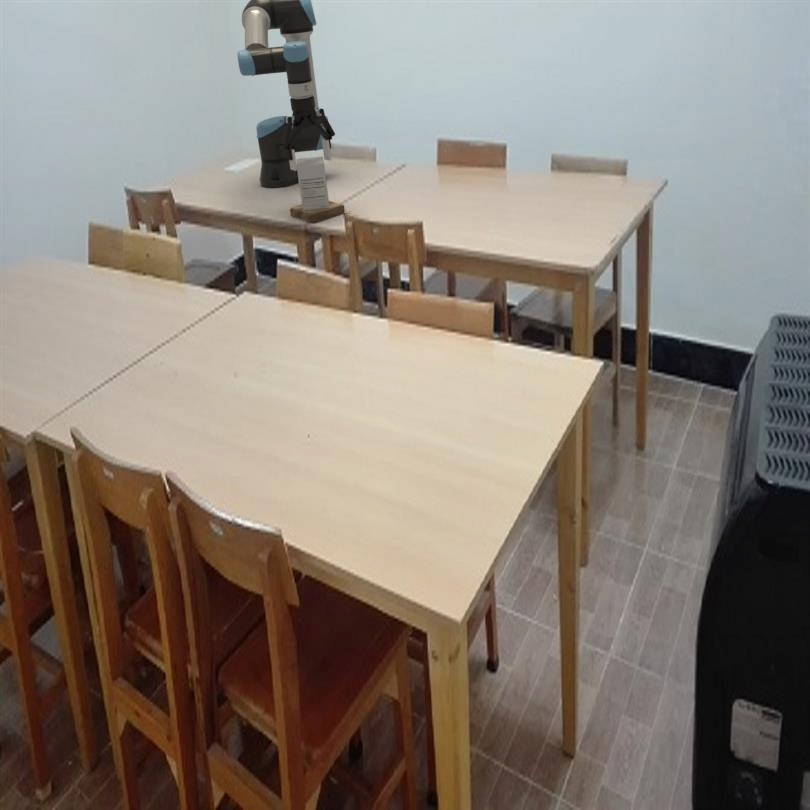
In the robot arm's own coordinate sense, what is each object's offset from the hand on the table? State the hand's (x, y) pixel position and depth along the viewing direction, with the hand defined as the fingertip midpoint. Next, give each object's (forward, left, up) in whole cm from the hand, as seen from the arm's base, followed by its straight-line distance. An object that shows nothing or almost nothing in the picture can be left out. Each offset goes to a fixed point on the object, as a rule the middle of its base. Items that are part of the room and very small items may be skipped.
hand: (311, 164), depth 264 cm
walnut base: (0, 0, -16) cm, 16 cm away
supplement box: (0, -1, -14) cm, 14 cm away
